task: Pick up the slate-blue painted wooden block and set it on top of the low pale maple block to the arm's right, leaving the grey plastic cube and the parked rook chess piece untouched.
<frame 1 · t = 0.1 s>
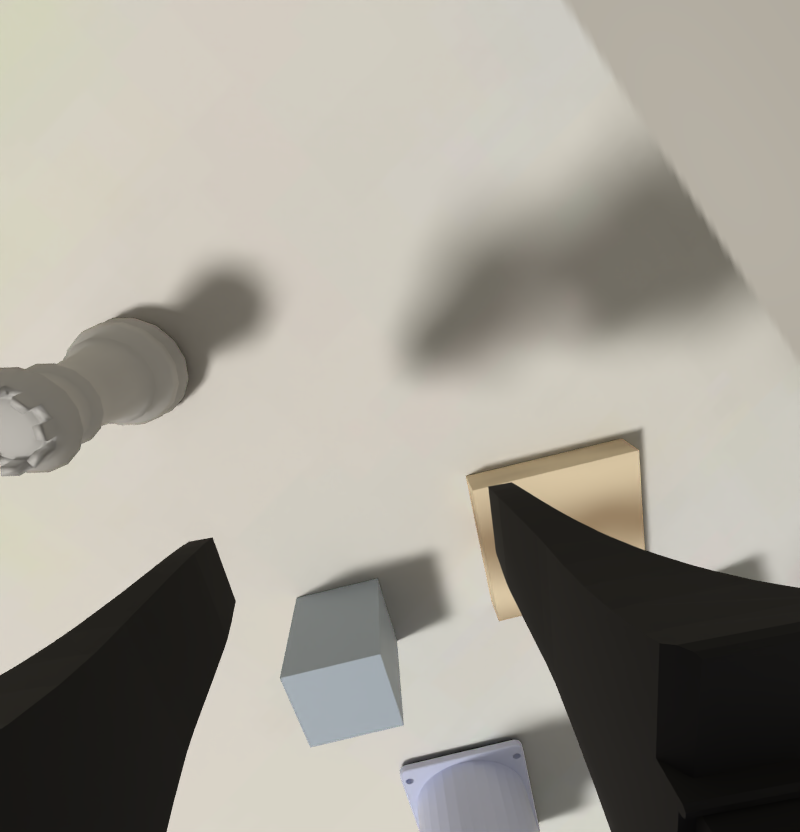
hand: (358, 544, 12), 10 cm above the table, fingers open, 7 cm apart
maple block: (549, 519, 24), on the table
slate block: (348, 619, 25), on the table
rook chess piece: (141, 366, 20), on the table
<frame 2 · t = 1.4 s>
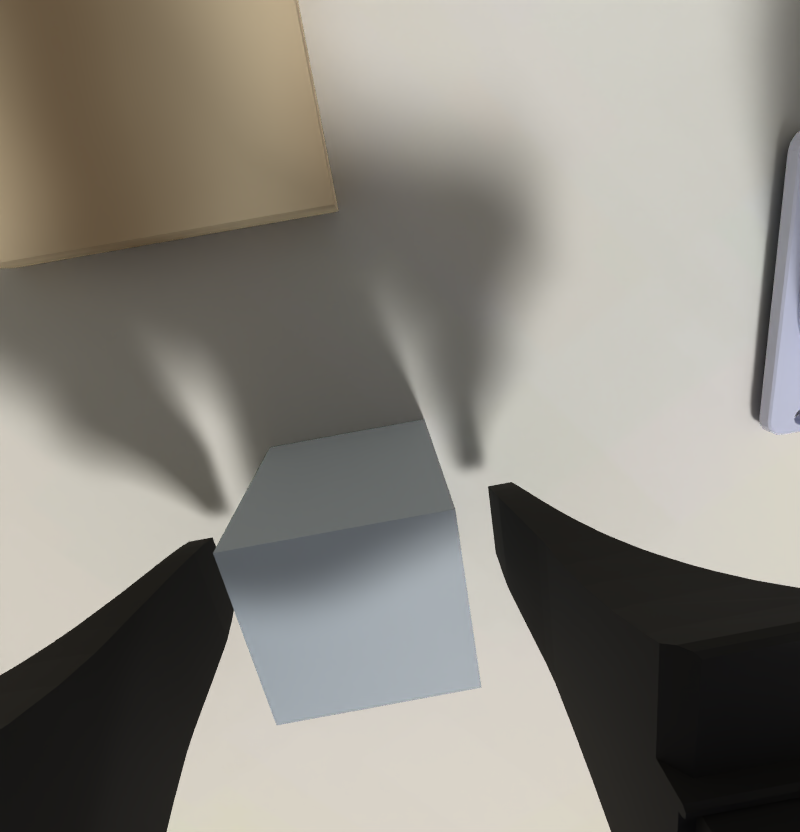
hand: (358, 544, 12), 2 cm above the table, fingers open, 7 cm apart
maple block: (127, 52, 10), on the table
slate block: (362, 500, 14), on the table
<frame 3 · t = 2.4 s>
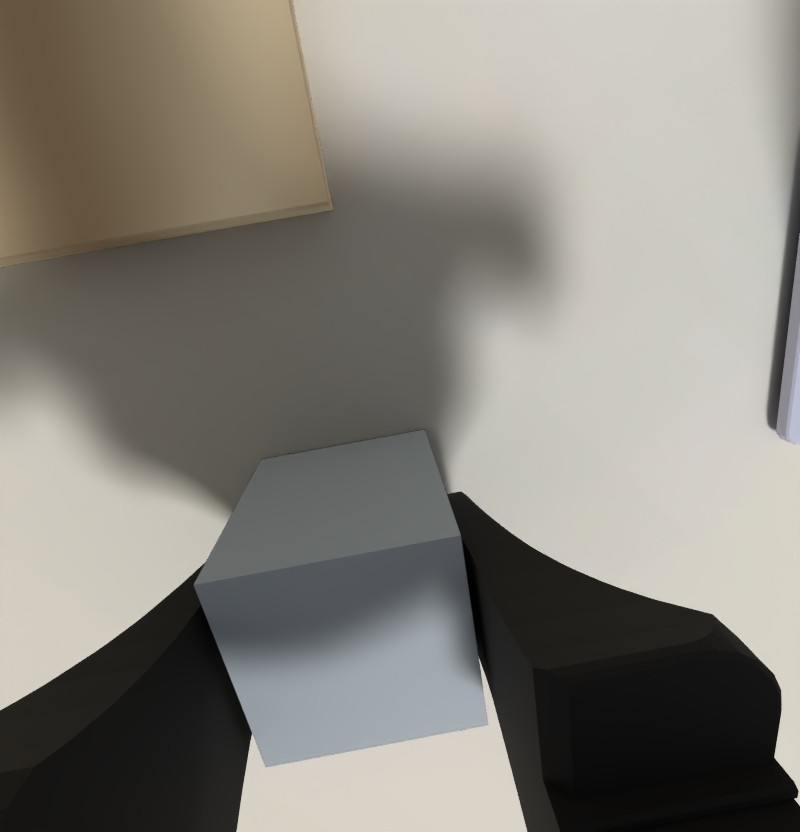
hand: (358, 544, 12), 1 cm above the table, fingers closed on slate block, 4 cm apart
maple block: (106, 38, 9), on the table
slate block: (359, 515, 13), on the table, touching gripper
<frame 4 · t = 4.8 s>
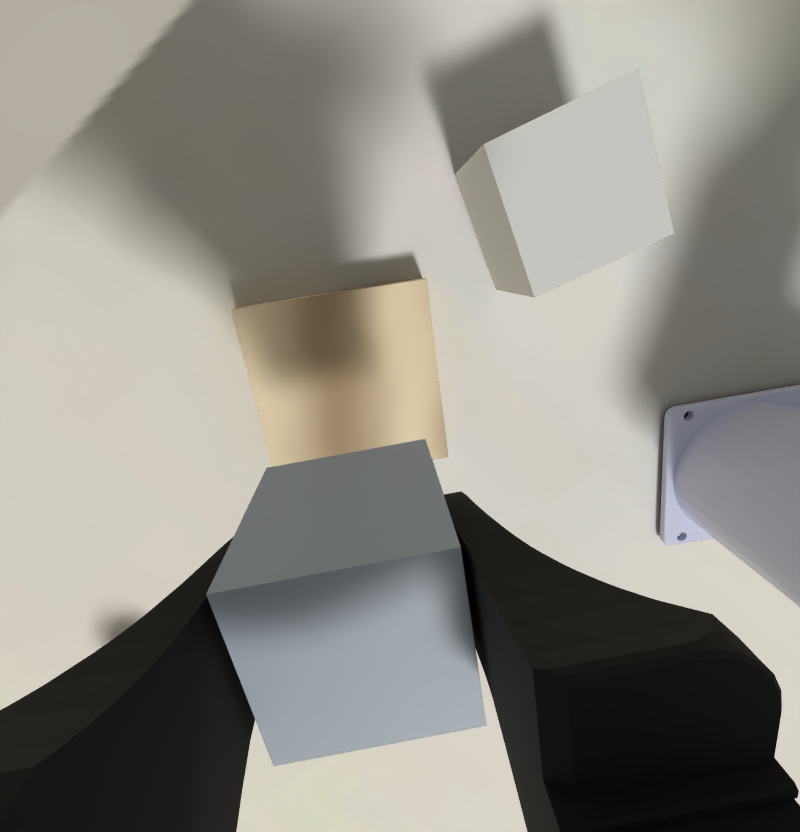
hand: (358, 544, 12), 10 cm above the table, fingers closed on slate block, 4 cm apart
grey cube: (529, 208, 19), on the table
maple block: (349, 377, 21), on the table
slate block: (361, 521, 13), point 9 cm above the table, touching gripper
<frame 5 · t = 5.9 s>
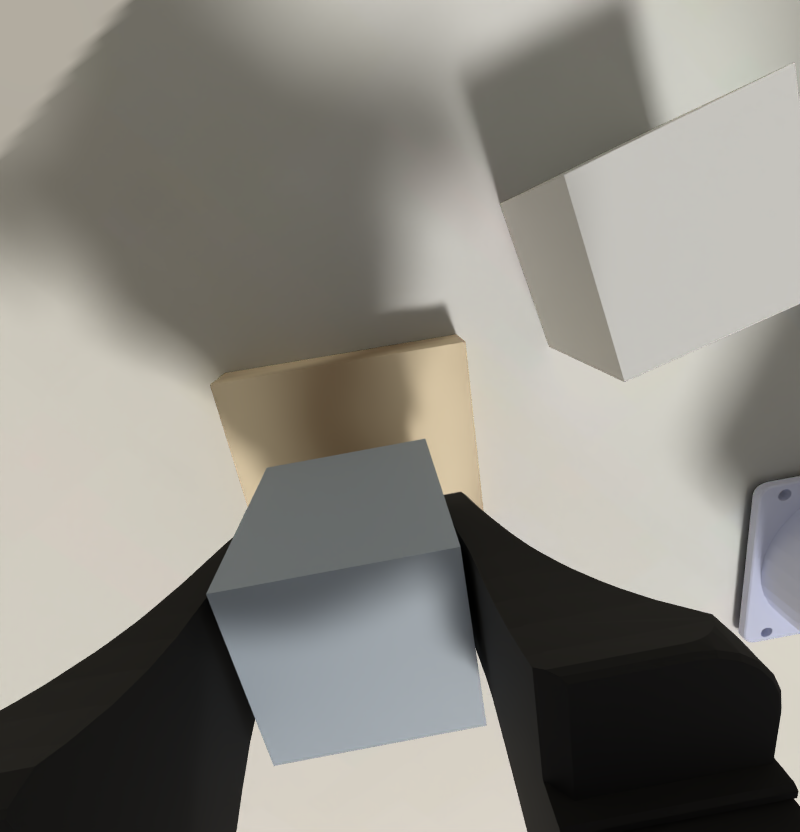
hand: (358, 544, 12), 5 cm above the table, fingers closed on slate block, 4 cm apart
grey cube: (595, 245, 15), on the table
maple block: (362, 453, 17), on the table
slate block: (361, 521, 13), point 4 cm above the table, touching gripper
when the fingers open (4 cm above the table, at t = 7.0 s): slate block drops 1 cm, resting on maple block.
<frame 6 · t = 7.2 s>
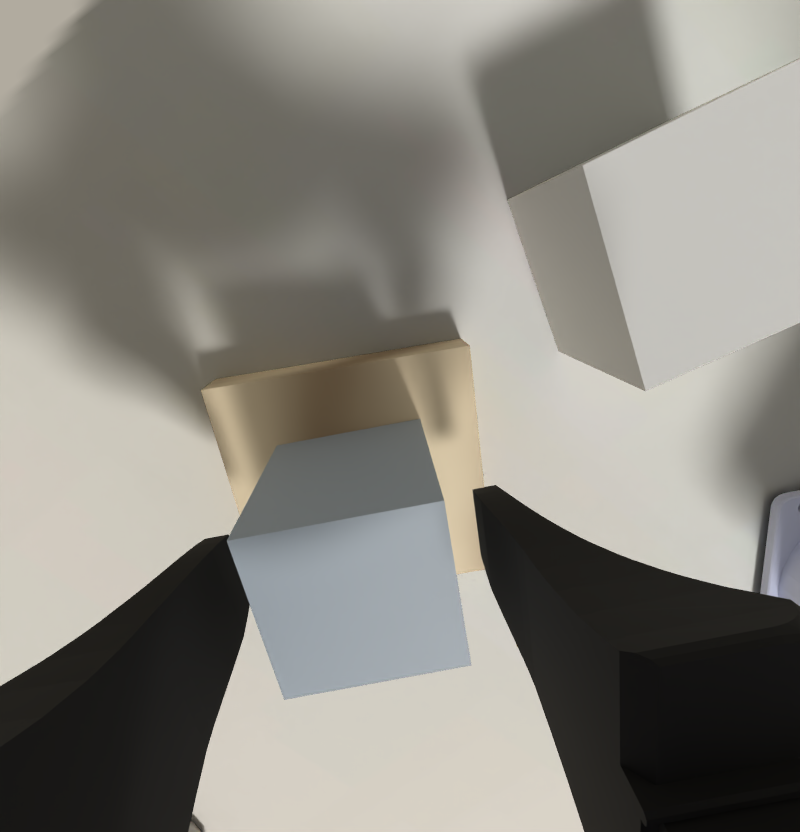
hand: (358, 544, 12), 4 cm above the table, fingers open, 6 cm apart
grey cube: (608, 244, 14), on the table
maple block: (361, 461, 16), on the table, touching slate block
slate block: (363, 495, 15), point 1 cm above the table, touching maple block
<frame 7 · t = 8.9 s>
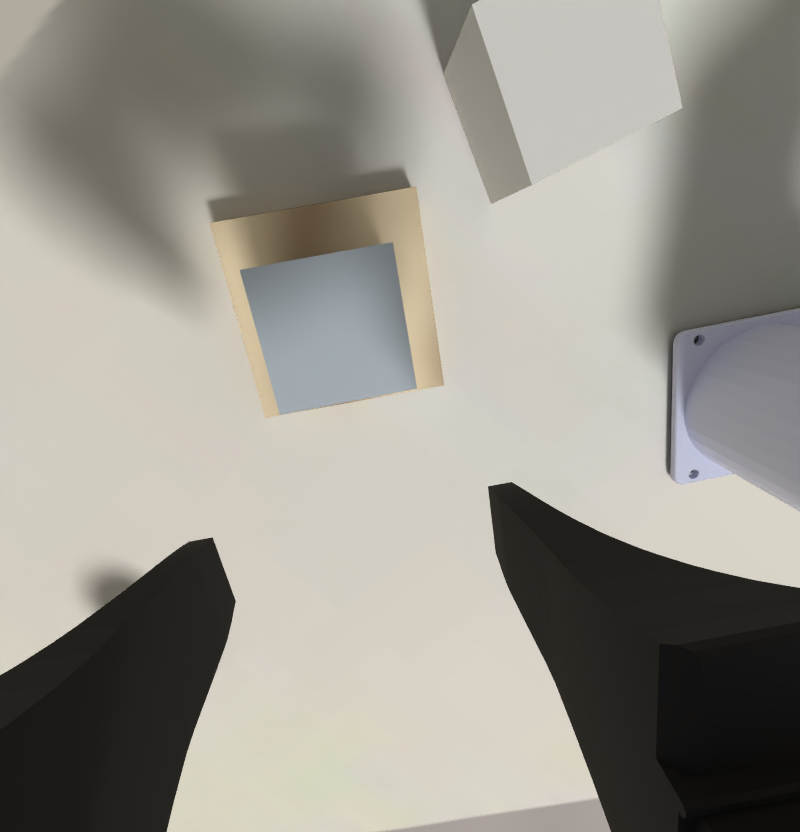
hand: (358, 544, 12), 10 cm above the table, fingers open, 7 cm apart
grey cube: (525, 112, 18), on the table
maple block: (338, 305, 20), on the table
slate block: (339, 315, 18), point 1 cm above the table
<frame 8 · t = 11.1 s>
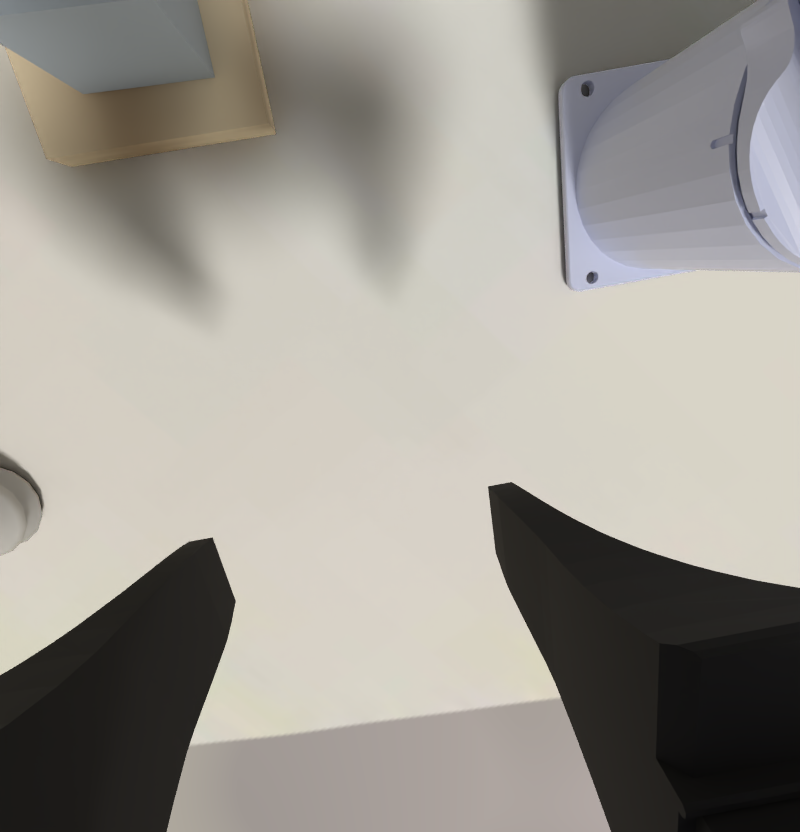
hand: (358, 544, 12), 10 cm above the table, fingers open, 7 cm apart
maple block: (145, 32, 17), on the table
slate block: (127, 4, 15), point 1 cm above the table
rook chess piece: (2, 499, 22), on the table
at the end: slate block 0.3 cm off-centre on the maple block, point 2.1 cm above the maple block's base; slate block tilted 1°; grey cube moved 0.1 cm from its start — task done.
